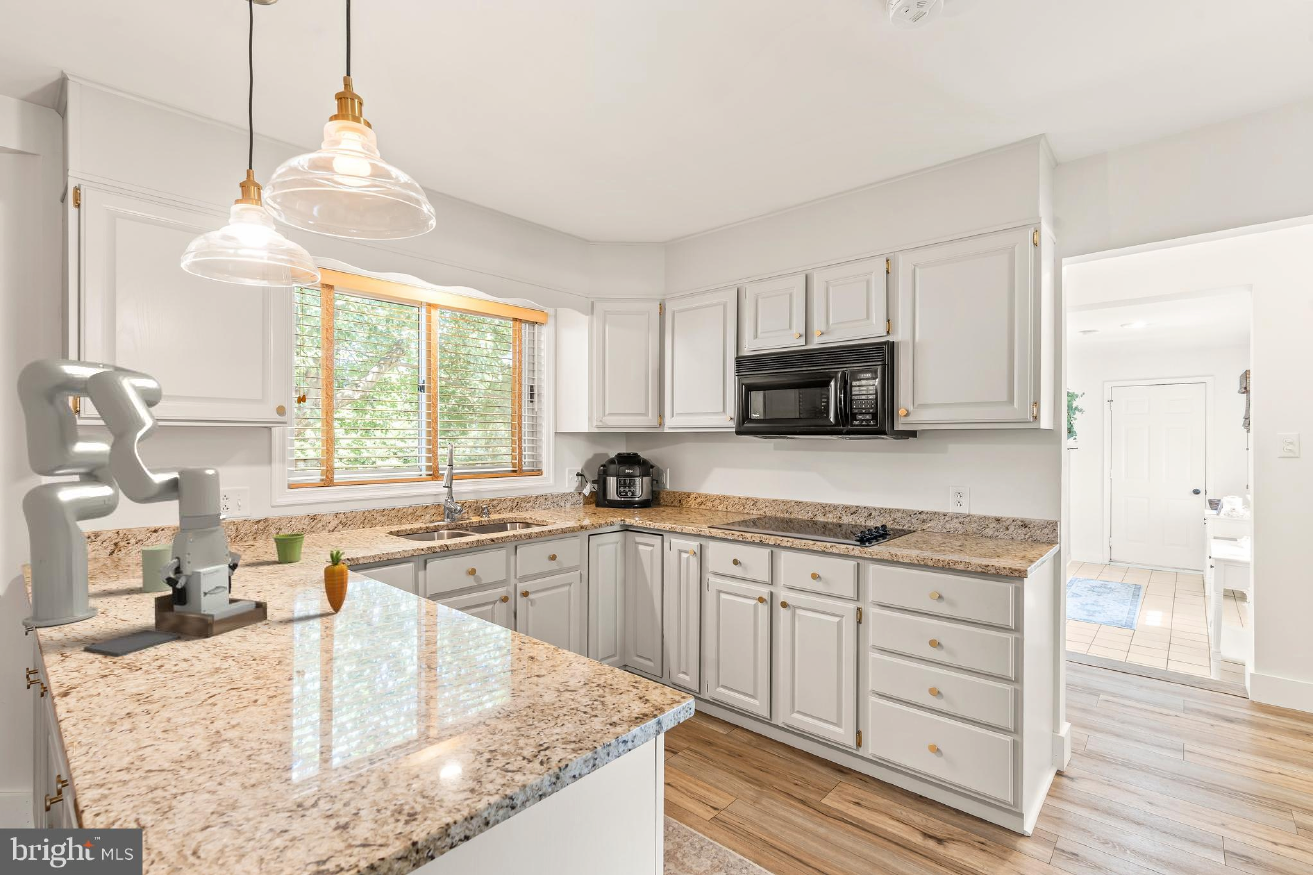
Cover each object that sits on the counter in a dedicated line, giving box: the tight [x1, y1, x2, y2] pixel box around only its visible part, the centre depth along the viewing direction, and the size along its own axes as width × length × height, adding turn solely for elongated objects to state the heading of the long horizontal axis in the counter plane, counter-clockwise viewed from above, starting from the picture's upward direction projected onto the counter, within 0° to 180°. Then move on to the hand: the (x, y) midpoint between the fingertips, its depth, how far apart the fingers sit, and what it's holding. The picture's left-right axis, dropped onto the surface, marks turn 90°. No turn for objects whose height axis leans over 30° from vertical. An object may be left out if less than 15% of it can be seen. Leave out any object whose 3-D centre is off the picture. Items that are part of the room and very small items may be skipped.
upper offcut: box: [200, 601, 255, 621], centre depth 136 cm, size 4×10×2 cm, turn 163°
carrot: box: [323, 549, 349, 614], centre depth 146 cm, size 5×5×15 cm
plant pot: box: [272, 533, 306, 564], centre depth 206 cm, size 9×9×9 cm
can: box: [141, 543, 173, 593], centre depth 172 cm, size 9×9×12 cm
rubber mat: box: [83, 629, 182, 657], centre depth 126 cm, size 11×11×1 cm
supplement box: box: [173, 565, 230, 615], centre depth 139 cm, size 7×7×13 cm
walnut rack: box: [154, 593, 268, 639], centre depth 138 cm, size 17×13×7 cm
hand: (203, 599), depth 139 cm, fingers open, 9 cm apart
